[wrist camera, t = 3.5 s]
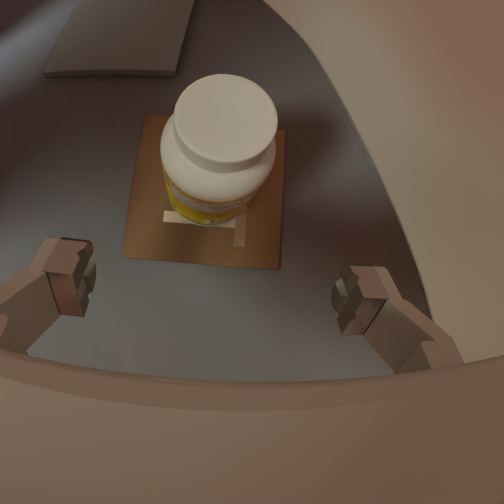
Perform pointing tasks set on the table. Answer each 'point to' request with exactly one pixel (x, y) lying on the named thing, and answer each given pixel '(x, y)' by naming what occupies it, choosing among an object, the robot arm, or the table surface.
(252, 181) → the supplement bottle
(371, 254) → the table surface
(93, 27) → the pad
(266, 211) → the tile
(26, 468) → the robot arm
